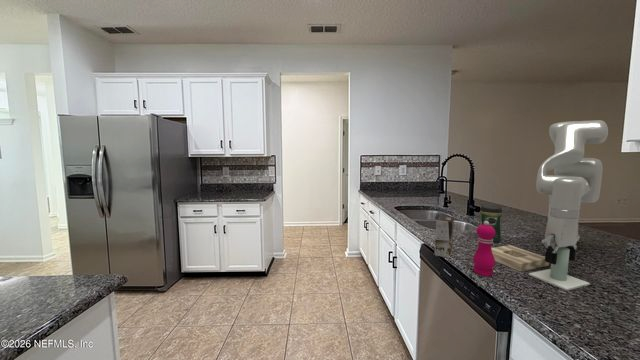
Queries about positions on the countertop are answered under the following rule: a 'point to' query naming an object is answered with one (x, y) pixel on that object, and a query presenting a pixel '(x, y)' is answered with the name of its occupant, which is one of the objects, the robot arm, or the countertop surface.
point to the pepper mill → (484, 250)
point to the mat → (566, 285)
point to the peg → (560, 264)
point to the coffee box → (444, 236)
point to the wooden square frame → (518, 258)
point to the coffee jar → (492, 218)
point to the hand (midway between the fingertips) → (559, 261)
